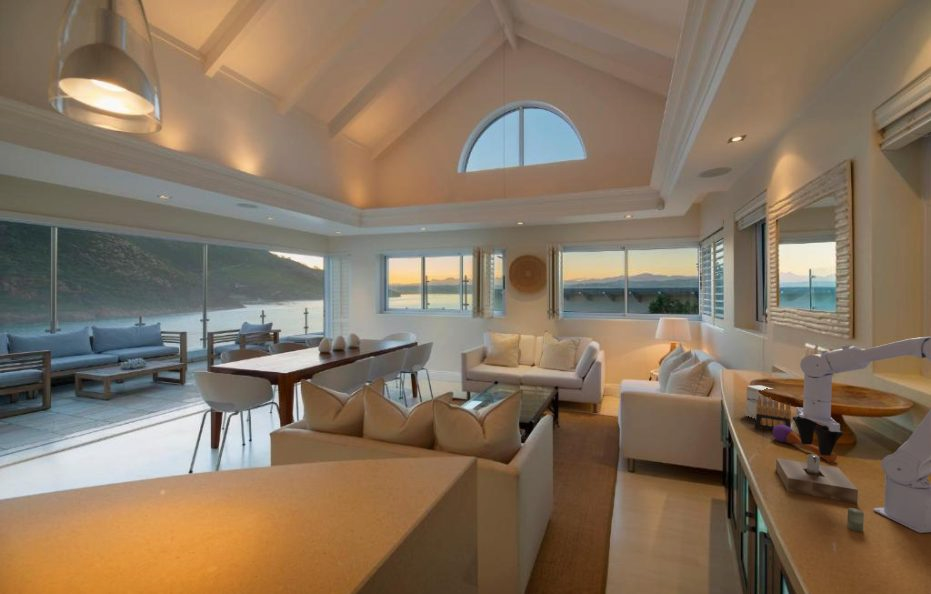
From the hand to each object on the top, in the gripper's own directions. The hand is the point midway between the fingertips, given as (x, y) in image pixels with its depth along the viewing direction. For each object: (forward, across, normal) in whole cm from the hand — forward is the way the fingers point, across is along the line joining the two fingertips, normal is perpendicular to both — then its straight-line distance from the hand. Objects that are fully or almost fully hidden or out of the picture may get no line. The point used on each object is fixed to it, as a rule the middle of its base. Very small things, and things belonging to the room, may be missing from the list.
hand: (815, 449), depth 114 cm
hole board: (+10, 0, 0) cm, 10 cm away
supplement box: (+10, -60, +16) cm, 63 cm away
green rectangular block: (+10, +21, -4) cm, 24 cm away
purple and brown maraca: (+10, -27, +12) cm, 32 cm away
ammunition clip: (+10, -47, +14) cm, 50 cm away
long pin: (+10, 0, 0) cm, 10 cm away
